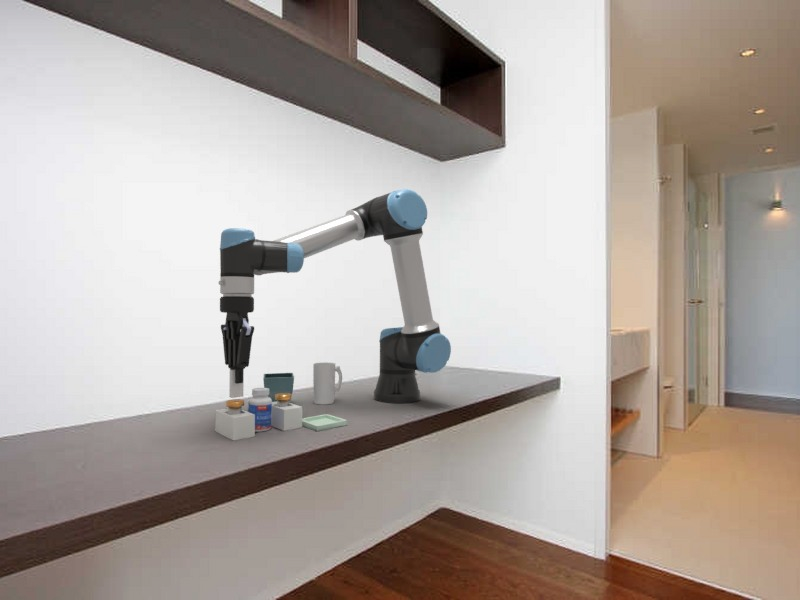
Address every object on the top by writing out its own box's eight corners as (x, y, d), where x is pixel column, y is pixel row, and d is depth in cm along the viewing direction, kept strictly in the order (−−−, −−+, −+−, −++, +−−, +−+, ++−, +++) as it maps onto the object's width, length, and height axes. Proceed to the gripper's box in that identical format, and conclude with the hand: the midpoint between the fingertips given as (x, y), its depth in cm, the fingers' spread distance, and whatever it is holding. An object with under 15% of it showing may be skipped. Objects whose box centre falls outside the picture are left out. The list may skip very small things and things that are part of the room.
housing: (281, 419, 123) (282, 400, 123) (302, 427, 116) (302, 407, 116) (215, 431, 111) (215, 410, 111) (233, 440, 103) (233, 417, 104)
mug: (320, 405, 140) (320, 365, 140) (308, 402, 145) (309, 363, 145) (347, 401, 147) (348, 363, 147) (335, 398, 152) (336, 361, 152)
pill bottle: (256, 433, 109) (257, 391, 109) (243, 429, 113) (243, 389, 113) (275, 429, 114) (276, 388, 114) (262, 425, 117) (262, 386, 117)
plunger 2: (286, 419, 120) (286, 392, 120) (294, 422, 117) (294, 394, 117) (271, 422, 118) (272, 394, 118) (279, 425, 115) (280, 396, 115)
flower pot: (262, 408, 135) (263, 377, 135) (263, 402, 144) (263, 373, 144) (293, 407, 138) (294, 376, 138) (292, 401, 146) (292, 372, 146)
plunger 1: (239, 428, 112) (239, 398, 112) (246, 431, 109) (247, 401, 109) (222, 430, 109) (223, 400, 109) (229, 434, 106) (230, 403, 106)
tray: (327, 418, 125) (327, 413, 125) (347, 425, 118) (347, 420, 118) (297, 424, 119) (297, 419, 119) (317, 431, 112) (317, 426, 112)
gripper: (210, 295, 111) (209, 394, 111) (233, 295, 102) (232, 403, 102) (240, 296, 117) (239, 390, 116) (265, 295, 107) (264, 398, 107)
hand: (236, 396), depth 109 cm, fingers closed
